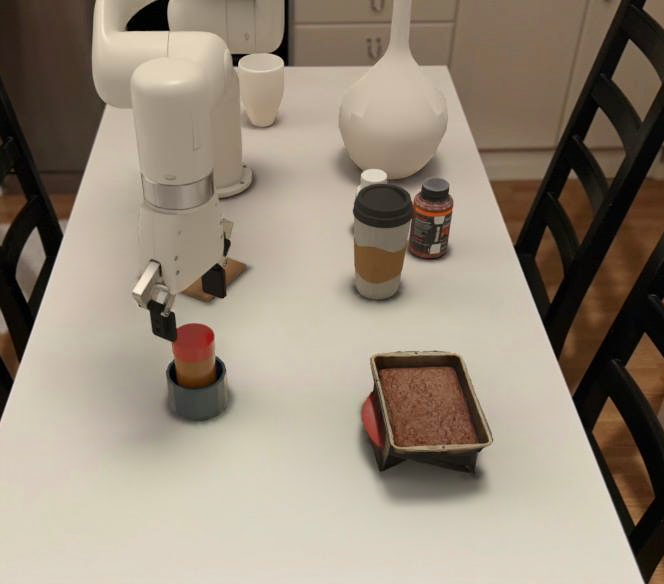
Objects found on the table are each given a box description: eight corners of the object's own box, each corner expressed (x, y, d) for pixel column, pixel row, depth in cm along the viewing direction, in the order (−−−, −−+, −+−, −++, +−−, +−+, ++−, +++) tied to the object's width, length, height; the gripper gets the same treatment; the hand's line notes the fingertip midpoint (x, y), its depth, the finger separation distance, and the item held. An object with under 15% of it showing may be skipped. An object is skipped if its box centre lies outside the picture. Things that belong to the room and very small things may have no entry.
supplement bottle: (445, 262, 139) (454, 196, 131) (406, 257, 140) (413, 192, 132) (448, 240, 143) (457, 175, 135) (410, 236, 144) (417, 171, 136)
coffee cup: (411, 277, 136) (421, 187, 126) (397, 309, 130) (406, 218, 120) (357, 266, 138) (362, 177, 128) (341, 298, 132) (345, 207, 122)
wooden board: (142, 277, 136) (141, 272, 136) (182, 245, 142) (181, 240, 142) (207, 302, 132) (207, 298, 131) (246, 268, 138) (246, 264, 137)
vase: (332, 142, 166) (339, -32, 146) (432, 140, 167) (453, -33, 146) (340, 194, 153) (349, 11, 133) (449, 191, 154) (474, 9, 133)
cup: (157, 407, 116) (153, 377, 112) (192, 374, 120) (189, 344, 117) (205, 428, 113) (202, 399, 110) (239, 394, 118) (237, 364, 114)
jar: (169, 402, 116) (162, 340, 109) (193, 379, 119) (188, 318, 112) (203, 417, 114) (197, 355, 107) (226, 393, 117) (223, 332, 110)
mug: (285, 131, 169) (284, 71, 162) (240, 132, 169) (237, 71, 161) (283, 102, 178) (283, 44, 170) (240, 103, 178) (238, 44, 170)
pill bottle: (379, 219, 148) (383, 163, 141) (393, 236, 144) (398, 180, 137) (348, 225, 146) (351, 169, 140) (361, 242, 143) (365, 186, 136)
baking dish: (469, 407, 118) (472, 341, 113) (495, 496, 104) (500, 425, 98) (358, 415, 119) (355, 349, 113) (368, 504, 104) (366, 434, 99)
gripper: (197, 141, 102) (207, 270, 114) (96, 210, 91) (118, 344, 103) (254, 158, 99) (257, 288, 111) (155, 232, 88) (171, 367, 100)
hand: (190, 315), depth 107 cm, fingers open, 9 cm apart
